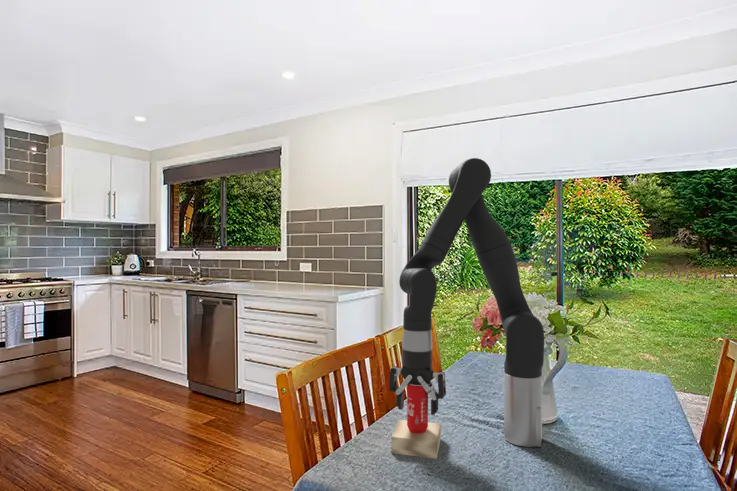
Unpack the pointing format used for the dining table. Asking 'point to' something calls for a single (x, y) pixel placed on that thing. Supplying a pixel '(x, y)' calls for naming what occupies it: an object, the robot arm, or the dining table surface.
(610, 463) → the dining table surface
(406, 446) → the beech block
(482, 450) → the dining table surface
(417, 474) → the dining table surface
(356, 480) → the dining table surface
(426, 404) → the beverage can
